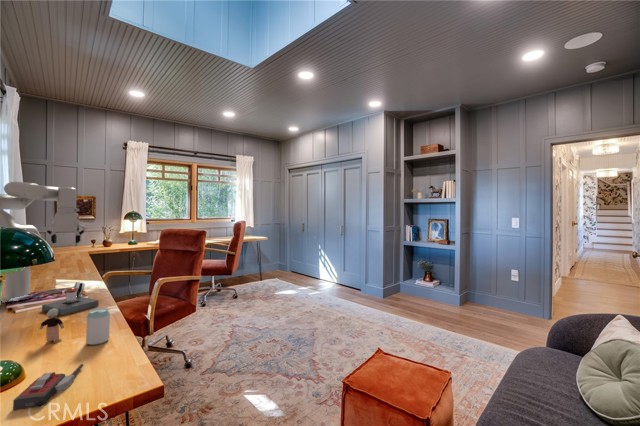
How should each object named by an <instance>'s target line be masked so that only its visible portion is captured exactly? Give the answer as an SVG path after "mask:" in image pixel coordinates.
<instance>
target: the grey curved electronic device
mask: <svg viewBox="0 0 640 426" xmlns="http://www.w3.org/2000/svg"><path fill="white" fill-rule="evenodd" d="M85 286H86V283H84V282H80V281H76V282H75V283H74V286H73V288H77V297H82V295H83V293H84V290H85Z"/></svg>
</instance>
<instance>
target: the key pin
mask: <svg viewBox="0 0 640 426" xmlns="http://www.w3.org/2000/svg"><path fill="white" fill-rule="evenodd" d="M65 292H66V293H65V300H66V304H67V305H70V304H74V303H76V296H77V288H74V287H69V288H66V289H65Z"/></svg>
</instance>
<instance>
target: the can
mask: <svg viewBox="0 0 640 426" xmlns="http://www.w3.org/2000/svg"><path fill="white" fill-rule="evenodd" d="M110 319H111V313H110V311H109V309H108V308H106V307H105V308H103V307H102V308H96V309H95V308H94V309H91V310H89V311H88V314H87V316H86V331H85V333H86V335H85V339H86V340H85V343H86V344H87V345H89V346H96V345H101V344H104V343H106V342H107V341H108V340H109V339H110V326H111V325H110V324H111V323H110V322H111V320H110Z"/></svg>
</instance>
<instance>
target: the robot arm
mask: <svg viewBox="0 0 640 426" xmlns="http://www.w3.org/2000/svg"><path fill="white" fill-rule="evenodd" d="M3 191H4V192H5V193H6V194H5V193H0V227H15V228H21V229H26V230H28V231H31V232H34V233H36V234H38V235H39V236H41V237H42V235H41V234H40V232H39V230H38V228H37V227H36V226H34V225H33V224H32V225H31V224H19V223H17V222H16V220H15V218H14V217H13V216H12V214H10V213H9V212H7V211H6V210H12V211H13V210H20V211H21V210H24V209H26V208H28V206H30V205H31V204H32V203H33V202H34V201H35V200H36V201H53V202H57V205H56V206H57V209H56V210H57V211H56V212H55V214H54V219H53V223H52V224H50V225H48V226H45V227H44V230H45V231H46V233H47V234H49V235H50V237H51V239H50V240H51V243H52V244H56V243H57V236H58V235H57V234H58V233H74V234H75V244H79V243H80V242H81V237H82V235H83V234H84V233H85V232H86V231H87V229H88V227H87V226H85V225H82V224H80V217H79V216H80V215H79V212H80V208H78V207H77V189H76V187H75V188H74V187H67V186H64V187H63V186H62V187H61V186H60V187H58V186H50V185H49V186H48V185H39V184H37V183H33V182H24V181H9V182H8V183H6V184H5V185H4V186H3ZM77 212H78V213H77ZM51 228H52V230H51ZM80 228H81V230H80ZM4 279H5V280H4V297H3V298H1V299H2V302H1V304H2V303H4V304H5V302H7V301H9V300H10V299H11V298H15V297H20V296H24V295H28V294H31V266H30V267H26V268H24V269H23V270H22V271H19V272H15V273H10V274H6V275H5V278H4Z"/></svg>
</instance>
